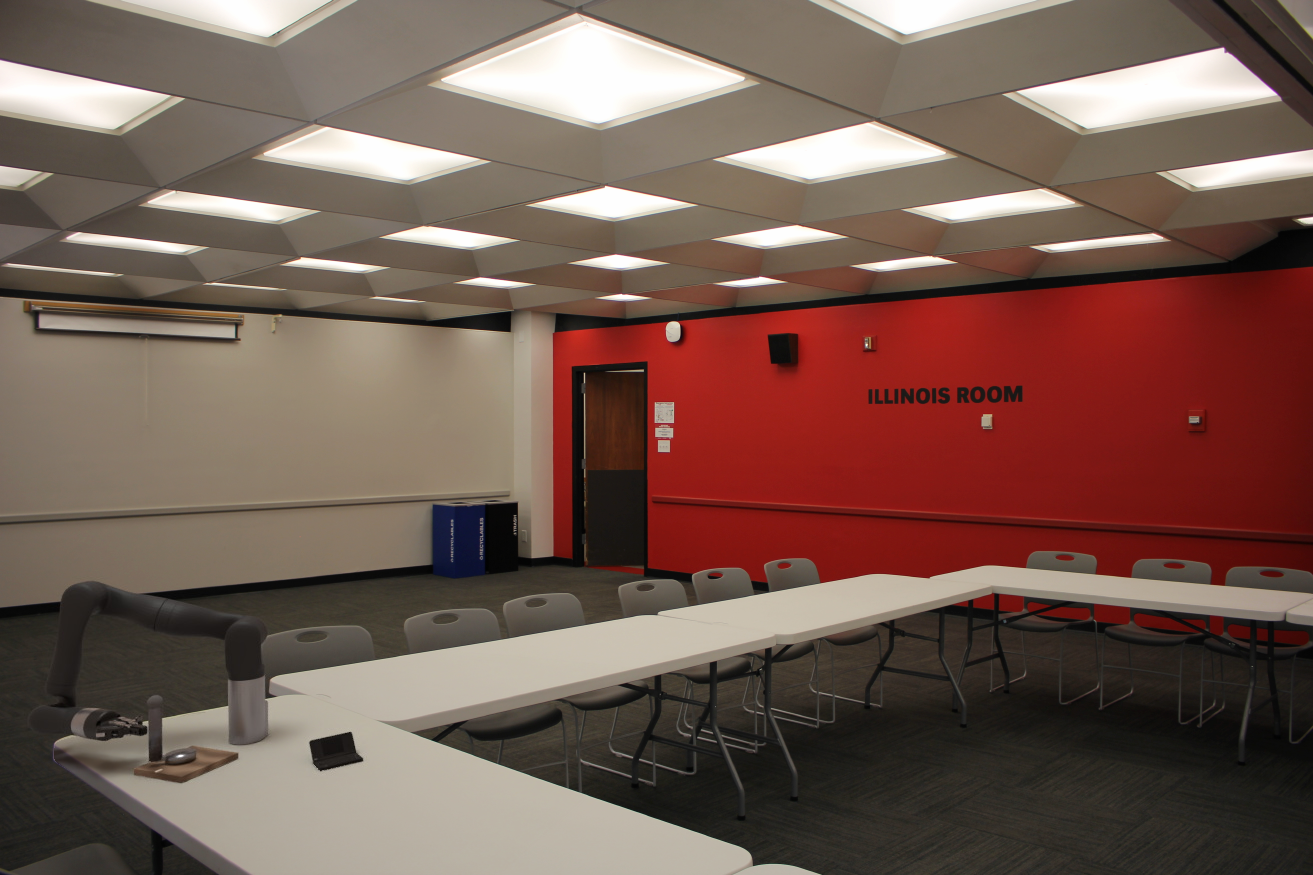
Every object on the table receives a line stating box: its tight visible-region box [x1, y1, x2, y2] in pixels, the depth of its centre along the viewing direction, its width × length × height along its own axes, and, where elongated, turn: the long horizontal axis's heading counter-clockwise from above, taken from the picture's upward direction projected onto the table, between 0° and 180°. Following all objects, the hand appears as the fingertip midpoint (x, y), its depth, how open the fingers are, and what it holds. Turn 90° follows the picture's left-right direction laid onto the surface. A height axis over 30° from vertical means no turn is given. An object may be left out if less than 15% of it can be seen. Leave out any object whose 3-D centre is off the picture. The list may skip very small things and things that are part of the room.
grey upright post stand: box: [146, 694, 196, 764], centre depth 218 cm, size 11×7×17 cm, turn 124°
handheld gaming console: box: [308, 731, 364, 772], centre depth 222 cm, size 12×7×10 cm
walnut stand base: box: [133, 745, 239, 784], centre depth 219 cm, size 17×16×2 cm
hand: (144, 730), depth 216 cm, fingers closed
